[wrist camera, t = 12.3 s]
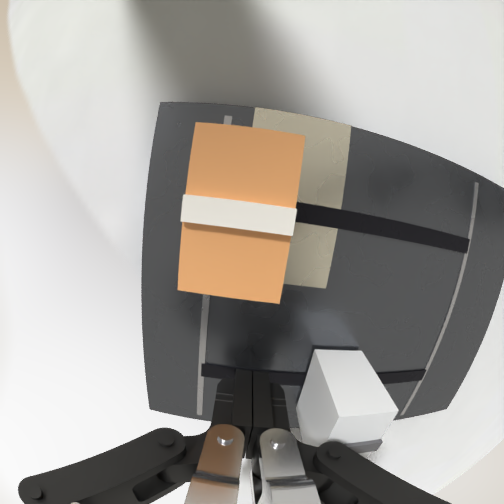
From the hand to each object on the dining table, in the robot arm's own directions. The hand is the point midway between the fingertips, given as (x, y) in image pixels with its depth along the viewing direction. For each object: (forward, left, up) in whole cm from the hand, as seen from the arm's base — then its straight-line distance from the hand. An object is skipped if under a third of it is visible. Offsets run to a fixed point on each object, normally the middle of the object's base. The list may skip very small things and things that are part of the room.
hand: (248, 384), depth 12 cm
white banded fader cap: (-4, 0, -1) cm, 4 cm away
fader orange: (+1, -8, -1) cm, 8 cm away
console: (-5, -4, -2) cm, 7 cm away
